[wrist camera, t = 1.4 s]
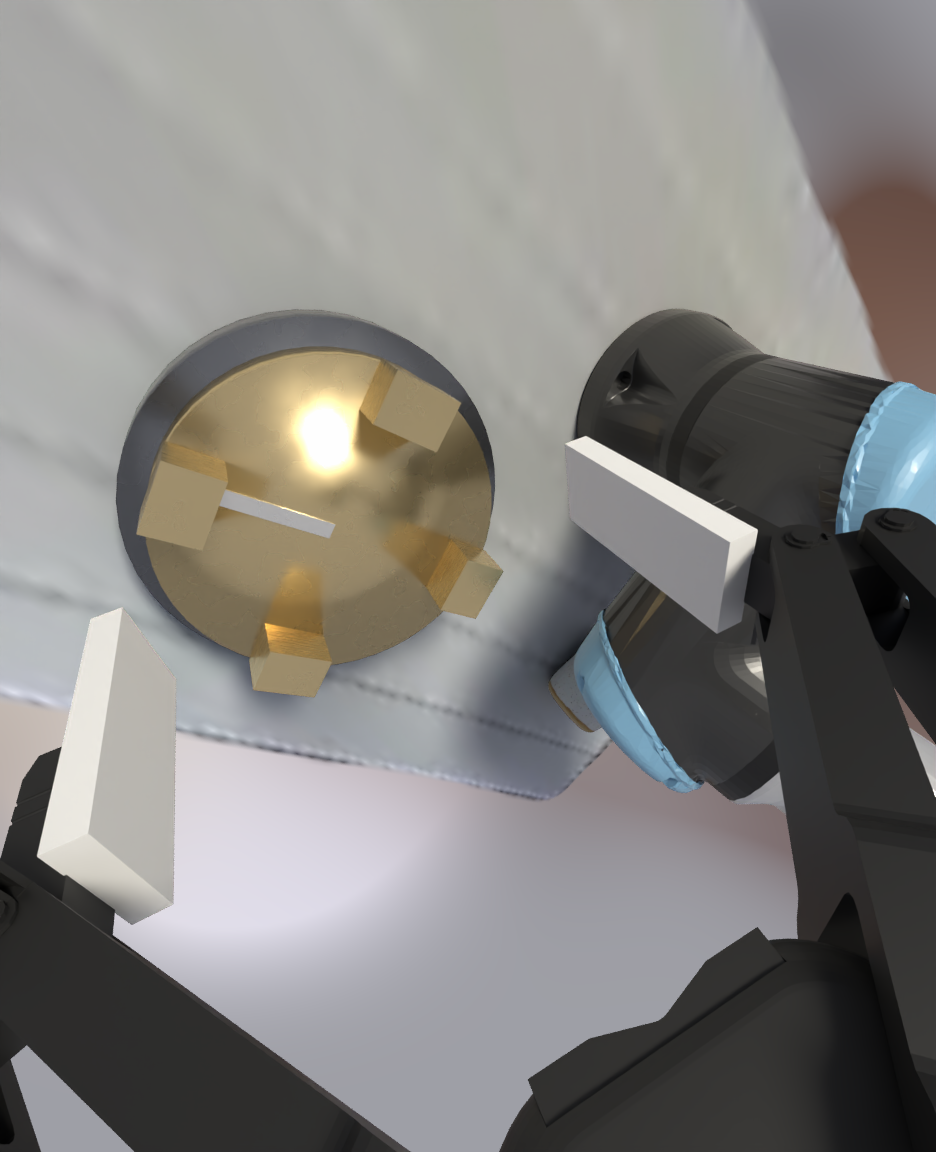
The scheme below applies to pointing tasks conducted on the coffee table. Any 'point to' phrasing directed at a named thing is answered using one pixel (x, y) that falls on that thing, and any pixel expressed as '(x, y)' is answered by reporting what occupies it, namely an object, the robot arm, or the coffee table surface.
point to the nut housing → (233, 350)
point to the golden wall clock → (318, 512)
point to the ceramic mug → (572, 697)
